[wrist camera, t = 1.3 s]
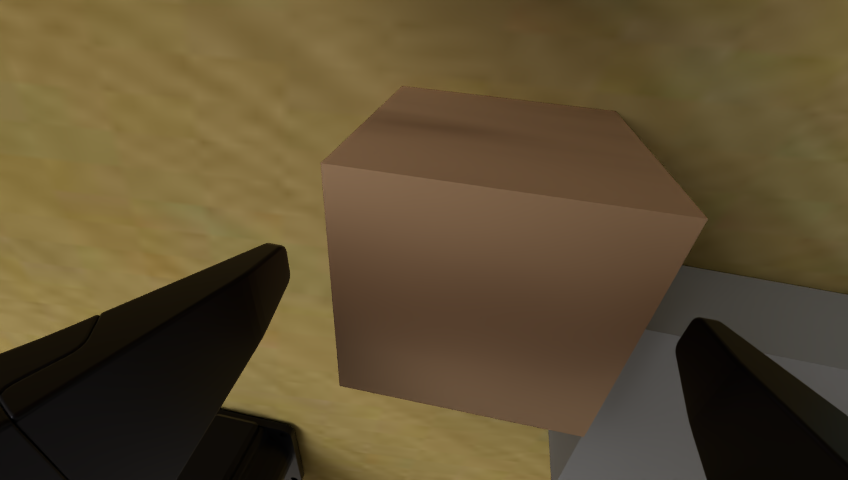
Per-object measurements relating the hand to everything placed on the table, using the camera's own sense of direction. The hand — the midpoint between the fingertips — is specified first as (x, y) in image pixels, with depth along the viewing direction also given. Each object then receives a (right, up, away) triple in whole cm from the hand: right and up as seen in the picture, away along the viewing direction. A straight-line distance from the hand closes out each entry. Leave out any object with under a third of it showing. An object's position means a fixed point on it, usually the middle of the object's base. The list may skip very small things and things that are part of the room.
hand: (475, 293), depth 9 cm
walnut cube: (+1, +3, +4) cm, 5 cm away
